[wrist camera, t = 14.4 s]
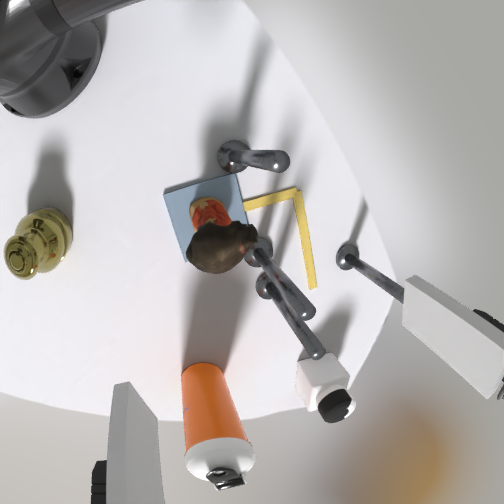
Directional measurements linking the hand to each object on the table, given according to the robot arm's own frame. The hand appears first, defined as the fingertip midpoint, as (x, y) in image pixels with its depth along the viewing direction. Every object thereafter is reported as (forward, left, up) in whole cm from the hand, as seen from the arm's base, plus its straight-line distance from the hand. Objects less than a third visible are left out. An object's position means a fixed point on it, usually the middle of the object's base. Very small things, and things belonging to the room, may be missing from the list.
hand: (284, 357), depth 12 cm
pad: (0, 0, -26) cm, 27 cm away
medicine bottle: (+33, +10, -27) cm, 44 cm away
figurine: (0, 0, -26) cm, 26 cm away
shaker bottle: (+25, -9, -27) cm, 38 cm away
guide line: (+7, +9, -26) cm, 29 cm away
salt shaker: (-5, -21, -27) cm, 34 cm away
